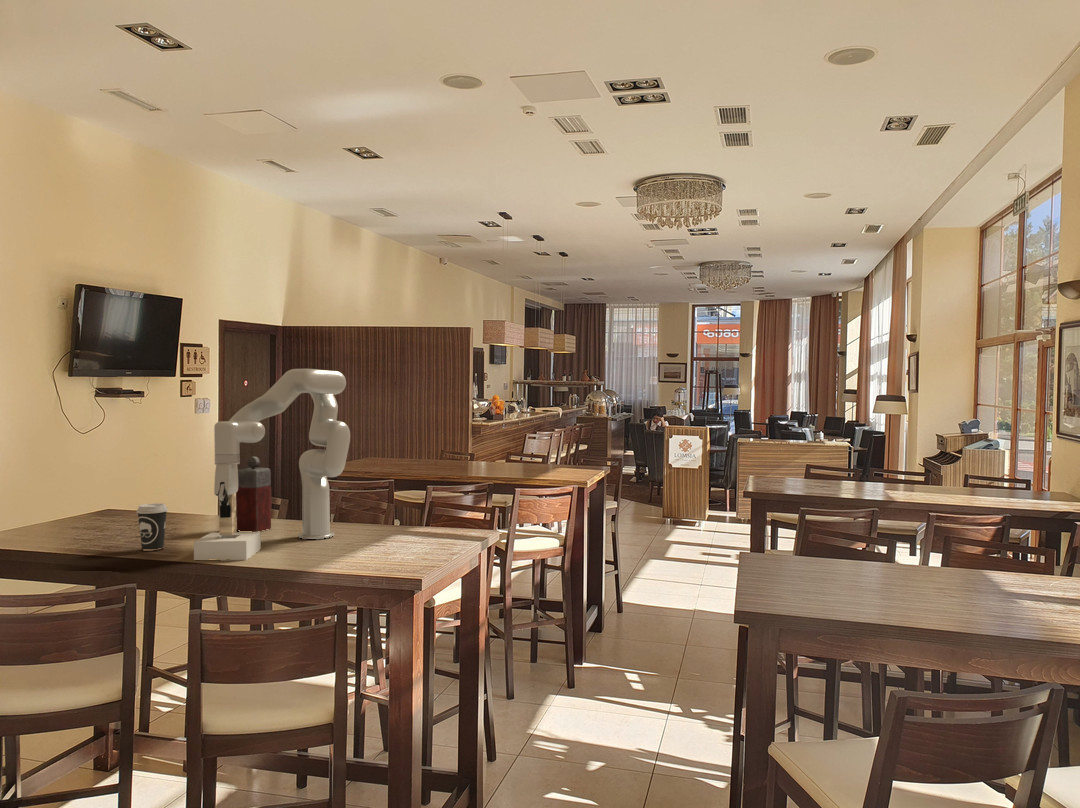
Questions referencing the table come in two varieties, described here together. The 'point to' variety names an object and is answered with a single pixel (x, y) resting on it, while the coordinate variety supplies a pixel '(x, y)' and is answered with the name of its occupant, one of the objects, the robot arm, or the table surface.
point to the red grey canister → (254, 497)
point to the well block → (227, 546)
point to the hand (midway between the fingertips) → (227, 515)
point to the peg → (228, 524)
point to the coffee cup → (152, 525)
